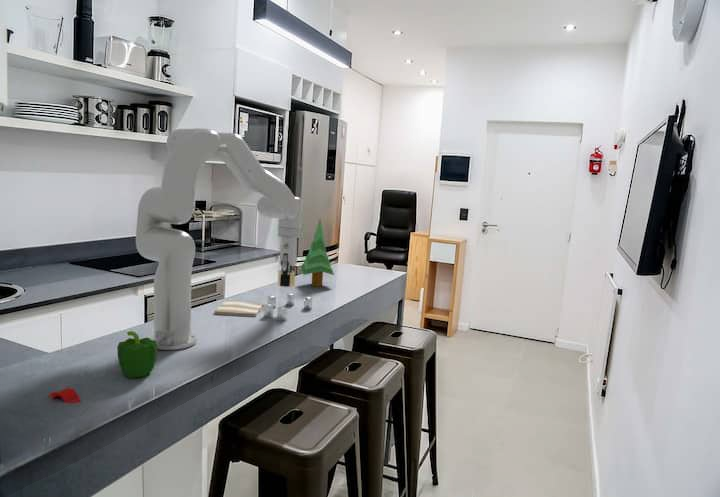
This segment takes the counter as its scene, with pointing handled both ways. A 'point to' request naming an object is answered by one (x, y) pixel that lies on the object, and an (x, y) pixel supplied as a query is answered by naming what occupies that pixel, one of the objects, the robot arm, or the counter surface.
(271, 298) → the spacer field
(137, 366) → the bell pepper
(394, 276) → the counter surface
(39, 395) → the counter surface
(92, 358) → the counter surface
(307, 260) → the decorative tree
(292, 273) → the brass nut
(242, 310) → the pad
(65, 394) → the red curved piece
